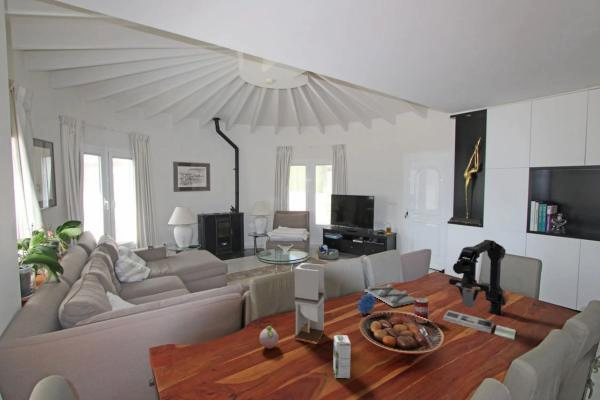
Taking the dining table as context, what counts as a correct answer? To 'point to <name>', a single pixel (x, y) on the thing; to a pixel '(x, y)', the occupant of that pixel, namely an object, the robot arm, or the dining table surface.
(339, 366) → the syrup box
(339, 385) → the dining table surface
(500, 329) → the sage pad
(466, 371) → the dining table surface
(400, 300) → the grey ridged tray
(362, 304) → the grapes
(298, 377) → the dining table surface
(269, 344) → the decorative fruit
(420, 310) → the soda can
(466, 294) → the steel block
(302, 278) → the white dispenser tower
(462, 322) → the rail plate
